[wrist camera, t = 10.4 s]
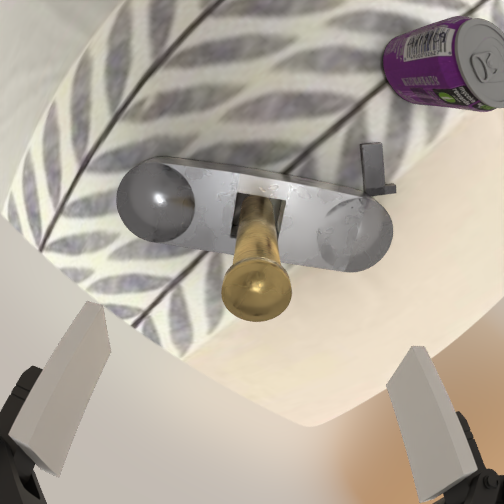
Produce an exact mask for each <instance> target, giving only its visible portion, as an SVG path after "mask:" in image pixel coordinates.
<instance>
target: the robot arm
mask: <svg viewBox="0 0 504 504" xmlns="http://www.w3.org/2000/svg"><path fill="white" fill-rule="evenodd" d="M110 353H111V348H110V343H109V338H108V332H107V326H106V320H105V314H104V308H103V305H101V304H97V303H92V302H88V301H87V302H86V303H85V305H84V306H83V308H82V309H81V311H80V312H79V314H78V315H77V317H76V318H75V319H74V321H73V323H72V324H71V325H70V327H69V329H68V330H67V332H66V333H65V335H64V336H63V338H62V339H61V341H60V343H59V344H58V346H57V347H56V349H55V351H54V352H53V354H52V355H51V357H50V359H49V361H48V362H47V364H46V365H45V367H44V369H40V368H38V367H35V366H31V367H30V368H29V369H28V370H26V371H25V372H24V373H23V374H22V375H21V377H20V378H19V380H18V382H17V383H16V386H15V387H14V389H13V390H12V393H11V395H9V397H8V399H7V401H6V403H5V404H4V406H3V408H2V410H1V412H0V504H47V502H46V500H45V498H44V495H43V493H42V490H41V488H40V485H39V483H38V480H37V477H36V474H35V472H34V471H33V468H34V465H35V464H36V465H37V466H38V467H39V468H40V469H41V470H44V471H46V472H48V473H50V474H52V475H54V476H56V477H60V474H61V471H62V468H63V465H64V462H65V460H66V457H67V454H68V451H69V449H70V446H71V444H72V441H73V439H74V436H75V433H76V431H77V428H78V426H79V423H80V421H81V419H82V416H83V414H84V412H85V409H86V407H87V404H88V402H89V400H90V397H91V395H92V393H93V391H94V388H95V386H96V384H97V381H98V379H99V377H100V375H101V373H102V370H103V368H104V366H105V364H106V362H107V360H108V357H109V355H110ZM386 387H387V390H388V393H389V396H390V399H391V402H392V405H393V408H394V411H395V414H396V418H397V421H398V424H399V427H400V431H401V434H402V437H403V441H404V444H405V448H406V451H407V455H408V459H409V462H410V466H411V470H412V474H413V478H414V481H415V486H416V490H417V494H418V498H419V503H421V502H425V501H428V500H432V499H434V498H436V497H437V496H439V495H441V494H444V497H443V498H441V499H440V500H438V501H436V502H435V503H433V504H504V475H497V473H496V472H495V471H494V470H492V469H486V467H485V465H484V463H483V460H482V458H481V455H480V452H479V450H478V447H477V444H476V442H475V439H473V434H472V432H470V427H469V425H468V423H467V420H466V419H465V418H464V416H463V415H462V414H461V413H460V412H459V411H458V412H455V410H454V407H453V405H452V403H451V401H450V398H449V396H448V394H447V392H446V390H445V387H444V385H443V383H442V381H441V379H440V377H439V375H438V373H437V370H436V368H435V366H434V364H433V362H432V360H431V358H430V356H429V354H428V352H427V350H426V348H425V346H411V348H410V350H409V351H408V353H407V354H406V356H405V357H404V359H403V361H402V362H401V364H400V365H399V367H398V368H397V370H396V371H395V373H394V374H393V376H392V377H391V379H390V380H389V382H388V383H387V384H386Z"/></svg>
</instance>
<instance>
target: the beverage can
mask: <svg viewBox="0 0 504 504" xmlns="http://www.w3.org/2000/svg"><path fill="white" fill-rule="evenodd" d="M383 66H384V72H385V75H386V77H387V80H388V82H389V84H390V85H391V87H392V88H393V89H394V91H395V92H396V93H397V94H398V95H399V96H401V97H402V98H403V99H405V100H407V101H409V102H411V103H414V104H420V105H431V106H441V107H450V108H458V109H465V110H472V111H479V112H488V111H492V110H494V109H496V108H504V33H503V32H502V31H501V30H500V29H499V28H498V27H497V26H495V25H494V24H493V23H491V22H489V21H487V20H484V19H480V18H474V19H472V18H469V17H465V16H456V17H451V18H448V19H445V20H442V21H439V22H436V23H433V24H430V25H427V26H424V27H421V28H418V29H416V30H413V31H410V32H408V33H405V34H402V35H400V36H397V37H395V38H394V39H392V40H391V41H390V42H389V44H388V45H387V47H386V49H385V52H384V56H383Z"/></svg>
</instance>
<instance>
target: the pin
mask: <svg viewBox="0 0 504 504" xmlns="http://www.w3.org/2000/svg"><path fill="white" fill-rule="evenodd" d="M221 294H222V300H223V302H224V304H225V306H226V308H227V309H228V310H229V311H230V312H231V313H232V314H234V315H235V316H237V317H238V318H241V319H243V320H247V321H253V322H261V321H267V320H270V319H273V318H275V317H277V316H278V315H280V314H281V313H282V312H283V311H284V310H285V309H286V308H287V307H288V305H289V303H290V300H291V296H292V290H291V284H290V279H289V276H288V274H287V272H286V270H285V269H284V268H283V267H282V266H281V263H280V256H279V248H278V241H277V234H276V227H275V219H274V212H273V206H272V203H271V201H270V200H269V199H268V198H267V197H263V196H257V195H250V196H248V197H247V198H246V199H245V200H244V201H243V203H242V206H241V212H240V218H239V225H238V232H237V239H236V245H235V252H234V259H233V265H232V266H231V267H230V268H229V269H228V271H227V272H226V274H225V276H224V280H223V285H222V292H221Z"/></svg>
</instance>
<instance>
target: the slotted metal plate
mask: <svg viewBox="0 0 504 504" xmlns="http://www.w3.org/2000/svg"><path fill="white" fill-rule="evenodd" d="M237 192H239V193H245V194H251V195H257V196H263V197H269V198H275V199H280V200H282V202H281V207H280V211H279V216H278V221H277V225H276V234H277V241H278V248H279V256H280V262H283V263H290V264H296V265H303V266H309V267H316V268H322V269H329V270H336V271H342V272H358V271H362V270H365V269H368V268H370V267H371V266H373V265H375V264H376V263H377V262H378V261H380V260H381V259H382V257H383V256H384V255H385V254H386V252H387V251H388V249H389V247H390V244H391V241H392V237H393V225H392V220H391V218H390V216H389V214H388V212H387V211H386V210H385V208H384V207H382V206H381V205H380V204H379V203H378V202H377V201H376V200H375V199H374V198H373V197H372V196H370V195H368V194H366V193H365V192H364V191H361V190H358V189H354V188H349V187H345V186H341V185H336V184H332V183H327V182H322V181H318V180H313V179H308V178H303V177H298V176H292V175H287V174H282V173H276V172H271V171H265V170H259V169H253V168H247V167H241V166H234V165H228V164H221V163H214V162H207V161H199V160H191V159H183V158H174V157H163V156H161V157H155V158H151V159H149V160H147V161H145V162H143V163H141V164H140V165H138V166H136V167H135V168H133V169H131V170H130V171H129V172H128V173H127V174H126V175H125V176H124V178H123V179H122V181H121V183H120V185H119V187H118V191H117V208H118V212H119V215H120V217H121V219H122V221H123V223H124V224H125V225H126V227H127V228H128V229H129V230H130V231H131V232H132V233H134V234H135V235H136V236H138V237H140V238H142V239H144V240H147V241H151V242H156V243H162V244H169V245H175V246H181V247H187V248H194V249H200V250H206V251H213V252H219V253H226V254H232V255H234V252H235V245H236V239H237V232H238V226H236V225H232V224H233V217H234V211H235V204H236V198H237Z"/></svg>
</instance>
